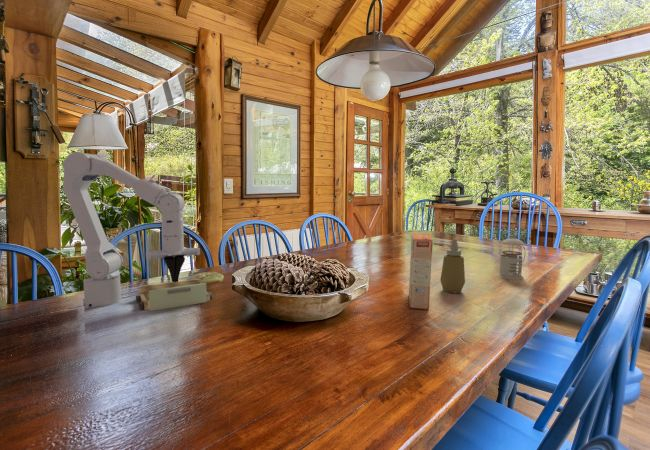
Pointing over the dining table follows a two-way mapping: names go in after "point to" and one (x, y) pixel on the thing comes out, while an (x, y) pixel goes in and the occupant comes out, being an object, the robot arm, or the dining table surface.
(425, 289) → the cracker box
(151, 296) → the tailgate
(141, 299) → the cart
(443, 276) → the squeeze bottle
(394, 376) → the dining table surface
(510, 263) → the french press
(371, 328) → the dining table surface
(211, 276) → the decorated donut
